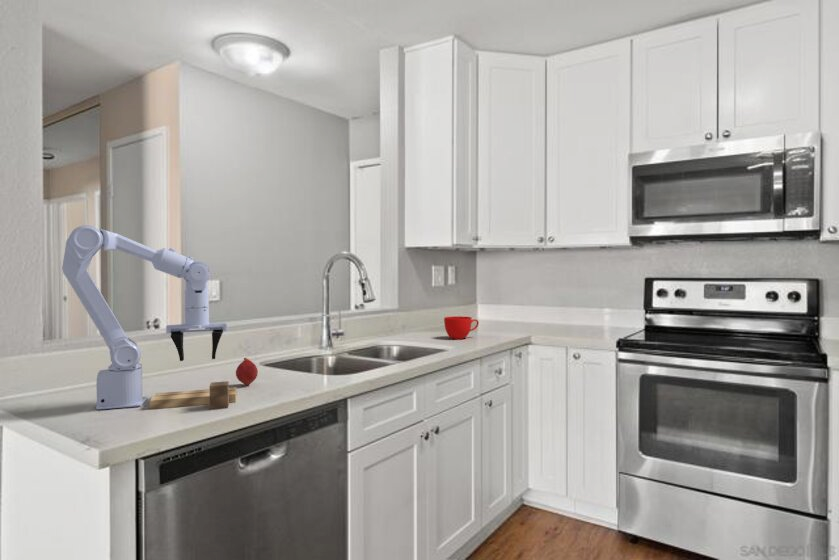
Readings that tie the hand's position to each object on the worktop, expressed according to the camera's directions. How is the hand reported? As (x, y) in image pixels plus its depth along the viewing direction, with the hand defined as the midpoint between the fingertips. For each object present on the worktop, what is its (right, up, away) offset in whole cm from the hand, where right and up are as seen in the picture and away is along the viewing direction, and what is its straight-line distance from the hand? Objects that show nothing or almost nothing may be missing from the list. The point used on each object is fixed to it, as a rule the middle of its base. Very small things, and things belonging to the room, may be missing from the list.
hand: (197, 359), depth 134 cm
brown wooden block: (+9, -9, -9) cm, 16 cm away
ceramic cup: (+78, -7, +109) cm, 135 cm away
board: (+2, -10, -7) cm, 12 cm away
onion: (+9, -9, +11) cm, 17 cm away
